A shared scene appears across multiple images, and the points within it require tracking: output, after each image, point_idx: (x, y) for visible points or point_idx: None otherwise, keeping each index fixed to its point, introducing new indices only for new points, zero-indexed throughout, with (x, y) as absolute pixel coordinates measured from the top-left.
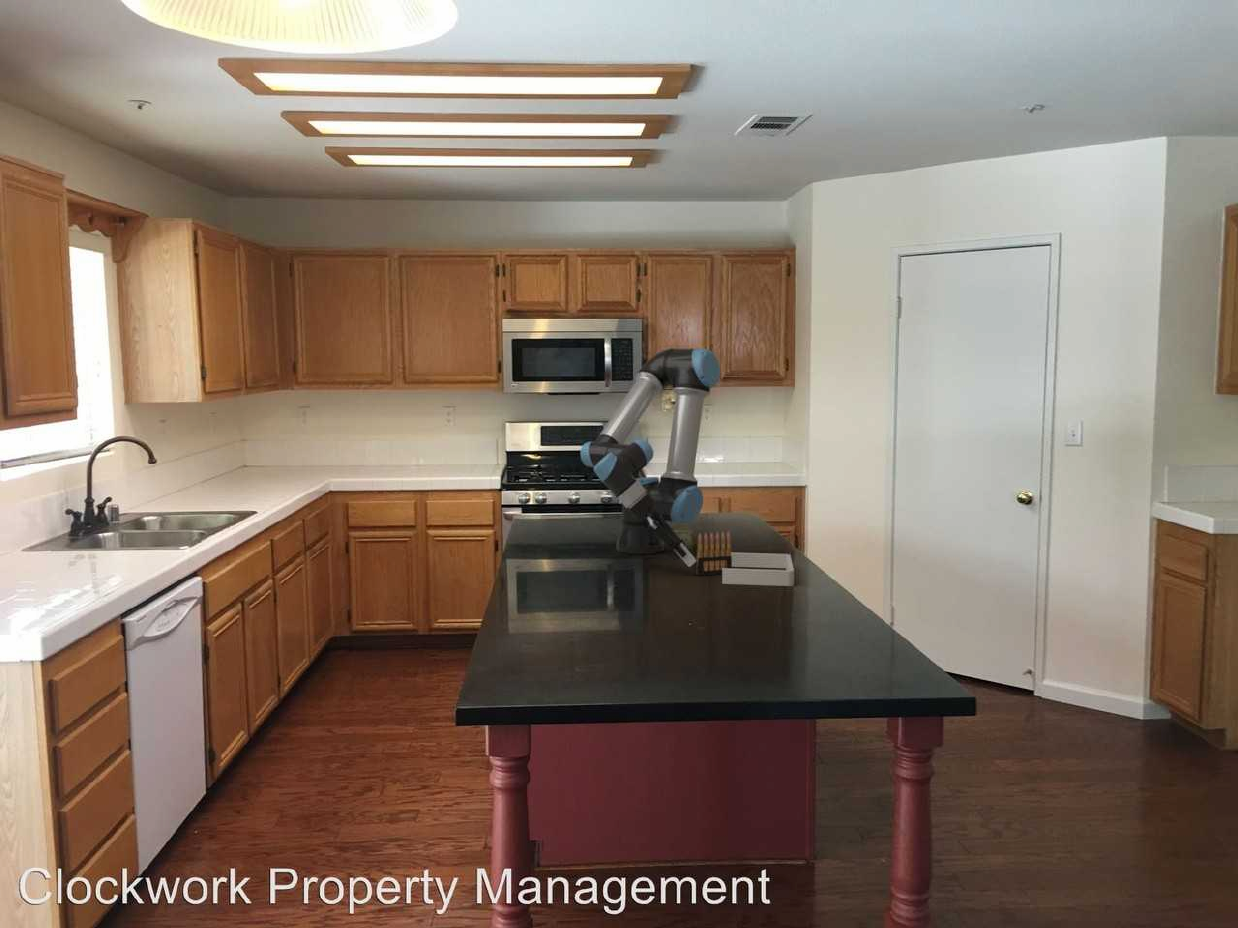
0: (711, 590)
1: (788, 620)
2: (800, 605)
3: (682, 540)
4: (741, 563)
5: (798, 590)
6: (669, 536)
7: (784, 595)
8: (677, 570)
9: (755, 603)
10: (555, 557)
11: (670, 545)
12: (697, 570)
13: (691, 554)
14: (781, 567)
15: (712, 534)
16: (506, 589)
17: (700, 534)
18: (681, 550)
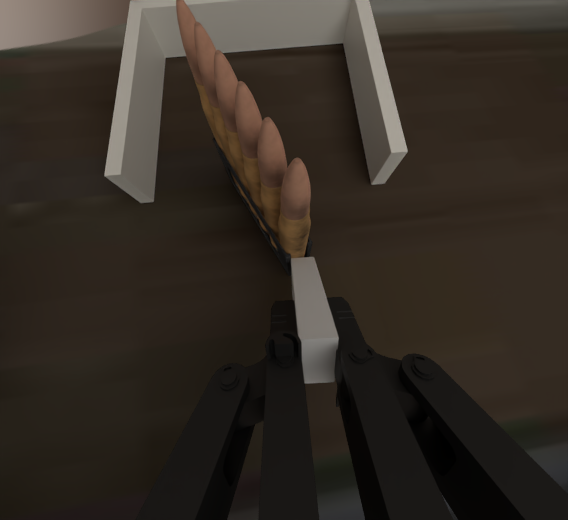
0: (476, 203)
1: None
2: (521, 17)
3: (282, 334)
4: (151, 146)
5: (389, 26)
6: (550, 484)
7: (448, 46)
8: (233, 348)
9: (556, 93)
10: None
11: (428, 416)
12: None
13: (297, 276)
14: (163, 64)
15: (251, 94)
16: None
17: (303, 166)
18: (355, 325)
